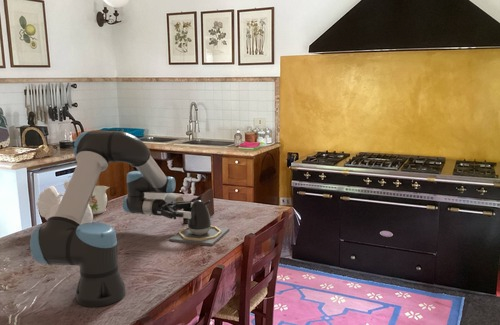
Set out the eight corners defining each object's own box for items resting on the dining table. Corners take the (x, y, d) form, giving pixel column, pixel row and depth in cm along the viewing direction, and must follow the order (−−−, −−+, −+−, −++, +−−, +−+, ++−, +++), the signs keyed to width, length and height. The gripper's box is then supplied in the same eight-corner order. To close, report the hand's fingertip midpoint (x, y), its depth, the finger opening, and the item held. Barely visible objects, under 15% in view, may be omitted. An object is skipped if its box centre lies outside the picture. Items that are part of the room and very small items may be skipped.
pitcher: (85, 208, 244) (82, 183, 241) (116, 209, 240) (114, 184, 238) (73, 214, 233) (71, 188, 230) (106, 216, 230) (104, 189, 227)
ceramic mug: (176, 210, 238) (175, 196, 237) (164, 208, 242) (163, 194, 241) (188, 206, 247) (188, 192, 246) (176, 204, 251) (176, 190, 250)
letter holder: (214, 213, 233) (213, 186, 231) (202, 225, 214) (201, 196, 212) (195, 212, 235) (195, 185, 233) (182, 224, 216) (181, 195, 214)
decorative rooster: (101, 227, 212) (97, 176, 207) (78, 238, 197) (73, 183, 193) (58, 222, 220) (53, 172, 215) (33, 233, 205) (27, 179, 201)
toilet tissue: (169, 199, 259) (168, 182, 258) (149, 202, 253) (148, 185, 252) (163, 195, 268) (162, 179, 267) (143, 198, 263) (142, 181, 261)
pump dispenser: (214, 235, 197) (213, 201, 194) (191, 238, 193) (189, 204, 190) (208, 228, 206) (207, 196, 203) (185, 231, 202) (184, 198, 200)
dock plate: (212, 245, 187) (212, 241, 187) (169, 240, 194) (169, 236, 193) (229, 230, 206) (229, 226, 206) (189, 226, 212) (189, 222, 212)
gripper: (168, 207, 217) (209, 211, 211) (140, 223, 194) (185, 227, 187) (168, 192, 216) (208, 195, 209) (139, 206, 193) (184, 210, 186)
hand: (197, 210), depth 198 cm, fingers open, 13 cm apart
